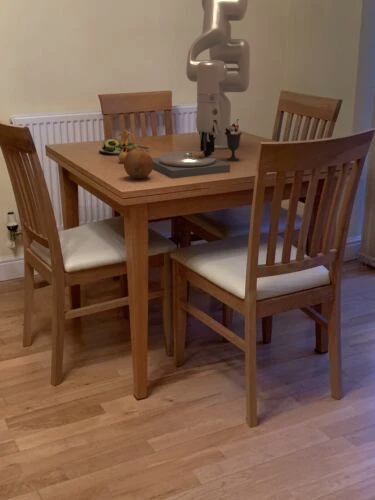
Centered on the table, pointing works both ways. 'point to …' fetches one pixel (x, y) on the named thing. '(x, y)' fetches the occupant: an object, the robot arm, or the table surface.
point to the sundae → (233, 140)
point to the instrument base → (190, 169)
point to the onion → (138, 163)
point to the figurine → (125, 136)
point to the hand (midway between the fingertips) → (207, 151)
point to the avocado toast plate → (117, 147)
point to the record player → (188, 157)
